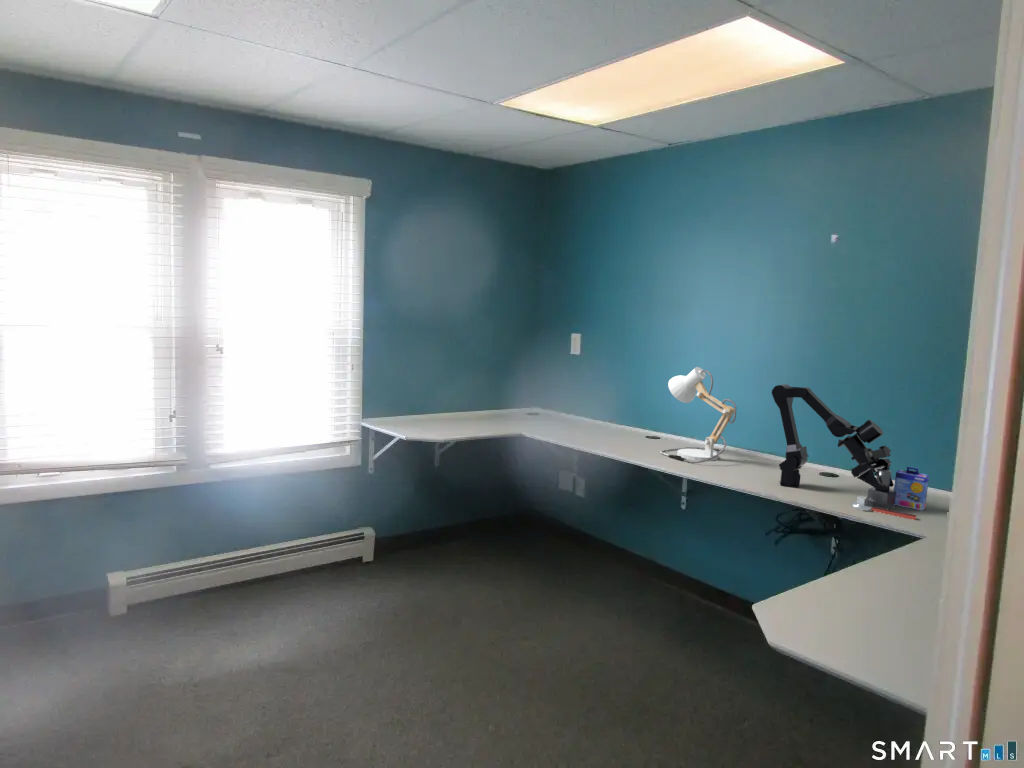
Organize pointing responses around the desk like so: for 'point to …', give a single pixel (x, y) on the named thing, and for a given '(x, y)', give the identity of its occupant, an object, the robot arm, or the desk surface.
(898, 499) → the ink cartridge box
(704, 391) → the desk lamp
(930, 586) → the desk surface
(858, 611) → the desk surface
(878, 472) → the grey cylinder on block
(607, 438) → the desk surface
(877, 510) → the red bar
